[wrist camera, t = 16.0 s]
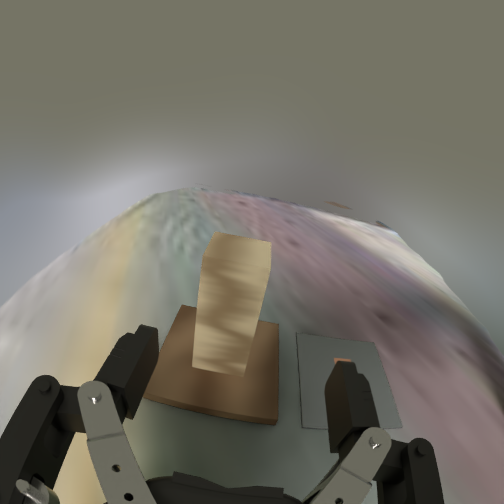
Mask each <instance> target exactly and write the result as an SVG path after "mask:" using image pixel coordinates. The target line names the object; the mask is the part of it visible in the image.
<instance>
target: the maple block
mask: <svg viewBox="0 0 504 504" xmlns="http://www.w3.org/2000/svg"><path fill="white" fill-rule="evenodd" d="M270 270H271V242H266V241H261V240H256V239H251V238H246V237H240V236H235V235H230V234H225V233H220V232H215V233H214V235H213V237H212V239H211V241H210V242H209V244H208V246H207V248H206V250H205V252H204V254H203V259H202V267H201V276H200V285H199V294H198V304H197V314H196V324H195V335H194V347H193V360H192V367H195V368H199V369H204V370H209V371H214V372H219V373H224V374H229V375H234V376H240V377H243V376H244V373H245V369H246V365H247V361H248V357H249V354H250V350H251V346H252V342H253V338H254V334H255V330H256V326H257V322H258V318H259V315H260V311H261V307H262V303H263V299H264V294H265V290H266V286H267V282H268V278H269V274H270Z"/></svg>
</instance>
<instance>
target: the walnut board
mask: <svg viewBox="0 0 504 504" xmlns="http://www.w3.org/2000/svg"><path fill="white" fill-rule="evenodd" d="M196 314H197V308H195V307H190V306H186V305H181V307H180V310H179V312H178V314H177V316H176V318H175V320H174V322H173V324H172V326H171V329H170V331H169V333H168V335H167V337H166V339H165V341H164V344H163V346H162V348H161V350H160V352H159V357H158V362H157V365H156V367H155V369H154V372H153V374H152V376H151V378H150V381H149V383H148V385H147V388H146V390H145V392H144V395H143V398H146V399H149V400H153V401H156V402H160V403H163V404H167V405H170V406H174V407H178V408H182V409H186V410H190V411H195V412H199V413H204V414H208V415H213V416H218V417H224V418H229V419H235V420H241V421H247V422H254V423H261V424H269V425H276V423H277V421H278V385H279V324H276V323H270V322H264V321H259V320H258V322H257V326H256V330H255V334H254V338H253V342H252V346H251V350H250V354H249V357H248V361H247V365H246V369H245V373H244V376H243V377H240V376H234V375H229V374H224V373H219V372H214V371H209V370H204V369H199V368H195V367H192V360H193V347H194V335H195V324H196Z"/></svg>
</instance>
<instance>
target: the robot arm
mask: <svg viewBox="0 0 504 504" xmlns="http://www.w3.org/2000/svg"><path fill="white" fill-rule="evenodd" d="M158 357H159V343H158V329H157V328H154V327H150V326H146V325H142V324H141V325H140V326H139V327H138V329H137V331H136V332H135V334H132V333H126V334H125V335H124V336H122V337H121V338H119V340H118V341H117V343H116V345H115V346H114V348H113V349H112V351H111V353H110V355H109V356H108V357H107V359H106V361H105V362H104V364H103V366H102V367H101V369H100V371H99V372H98V374H97V376H96V377H95V379H94V380H93V381H89V382H86V383H84V384H83V385H82V386H81V387H72V386H63V385H60V384H59V382H58V381H57V380H56V379H55V378H54V377H52V376H50V375H42V376H39V377H37V378H36V379H35V380H34V381H33V382H32V383H31V385H30V387H29V388H28V390H27V392H26V393H25V395H24V396H23V398H22V400H21V402H20V403H19V405H18V407H17V408H16V410H15V412H14V414H13V415H12V417H11V419H10V421H9V423H8V425H7V426H6V428H5V430H4V432H3V434H2V436H1V438H0V504H60V501H59V498H58V496H57V495H56V493H55V492H54V491H53V488H54V485H55V482H56V480H57V477H58V474H59V472H60V469H61V466H62V464H63V461H64V459H65V456H66V454H67V451H68V449H69V446H70V444H71V442H72V439H73V437H74V434H75V432H80V433H86V434H87V438H88V440H87V446H88V449H89V453H90V456H91V459H92V462H93V465H94V468H95V471H96V474H97V477H98V480H99V482H100V485H101V487H102V490H103V493H104V495H105V498H106V500H107V502H106V503H104V504H361V503H362V501H363V500H364V498H365V497H366V495H367V494H368V492H369V491H370V489H371V487H372V484H371V481H372V480H374V481H377V495H378V504H444V499H443V493H442V487H441V482H440V477H439V472H438V467H437V462H436V458H435V454H434V449H433V447H432V445H431V443H430V442H429V441H427V440H426V439H423V438H415V439H413V440H412V441H411V442H410V443H404V442H400V441H396V440H392V439H391V438H390V436H389V434H388V433H387V432H386V431H385V430H383V429H381V428H380V424H379V420H378V415H377V411H376V407H375V403H374V401H373V395H372V393H371V388H370V384H369V381H368V380H367V379H366V377H365V376H364V374H361V373H358V372H357V368H356V364H355V363H354V362H350V361H337V362H336V364H335V366H334V368H333V370H332V372H331V374H330V376H329V378H328V380H327V382H326V384H325V390H324V395H325V404H326V413H327V423H328V433H329V443H330V453H339V459H338V460H337V461H336V463H335V464H334V465H333V466H332V468H331V469H330V470H329V472H328V473H327V474H326V475H325V476H324V478H323V479H322V480H321V481H320V483H319V484H318V485H317V486H316V487H315V488H314V489H313V490H312V491H311V492H310V493H309V494H308V495H307V496H306V497H305V498H304V499H303V500H302V502H301V501H299V500H298V499H296V498H294V497H292V496H289V495H287V494H283V489H284V488H276V487H263V486H252V487H242V488H225V487H223V486H220V485H218V484H215V483H213V482H210V481H208V480H205V479H203V478H201V477H196V476H191V475H187V474H183V473H179V472H175V471H174V473H173V476H166V477H157V478H153V479H149V480H147V481H145V479H144V477H143V474H142V472H141V470H140V468H139V466H138V464H137V461H136V459H135V457H134V454H133V452H132V450H131V447H130V445H129V442H128V440H127V437H126V434H125V432H124V429H123V426H122V424H123V422H124V419H125V417H126V418H129V419H132V420H133V418H134V416H135V413H136V411H137V409H138V406H139V404H140V402H141V399H142V397H143V395H144V392H145V390H146V388H147V385H148V383H149V381H150V378H151V376H152V374H153V372H154V369H155V367H156V365H157V362H158Z"/></svg>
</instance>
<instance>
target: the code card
mask: <svg viewBox="0 0 504 504" xmlns="http://www.w3.org/2000/svg"><path fill="white" fill-rule="evenodd" d="M296 338H297V351H298V365H299V379H300V396H301V414H302V428H314V429H328V423H327V413H326V404H325V395H324V390H325V384H326V382H327V380H328V378H329V376H330V374H331V372H332V370H333V368H334V366H335V364H336V362H337V361H350V362H354V363H355V364H356V368H357V372H358V373H361V374H364V376H365V377H366V379H367V380H368V381H369V384H370V388H371V393H372V395H373V401H374V403H375V407H376V411H377V415H378V420H379V424H380V428H381V429H391V428H402V423H401V420H400V417H399V413H398V410H397V407H396V404H395V401H394V398H393V395H392V392H391V389H390V386H389V383H388V380H387V377H386V374H385V371H384V369H383V366H382V363H381V360H380V358H379V355H378V352H377V349H376V347H375V344H374V343H372V342H363V341H355V340H346V339H339V338H331V337H324V336H317V335H310V334H303V333H297V332H296Z"/></svg>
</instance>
